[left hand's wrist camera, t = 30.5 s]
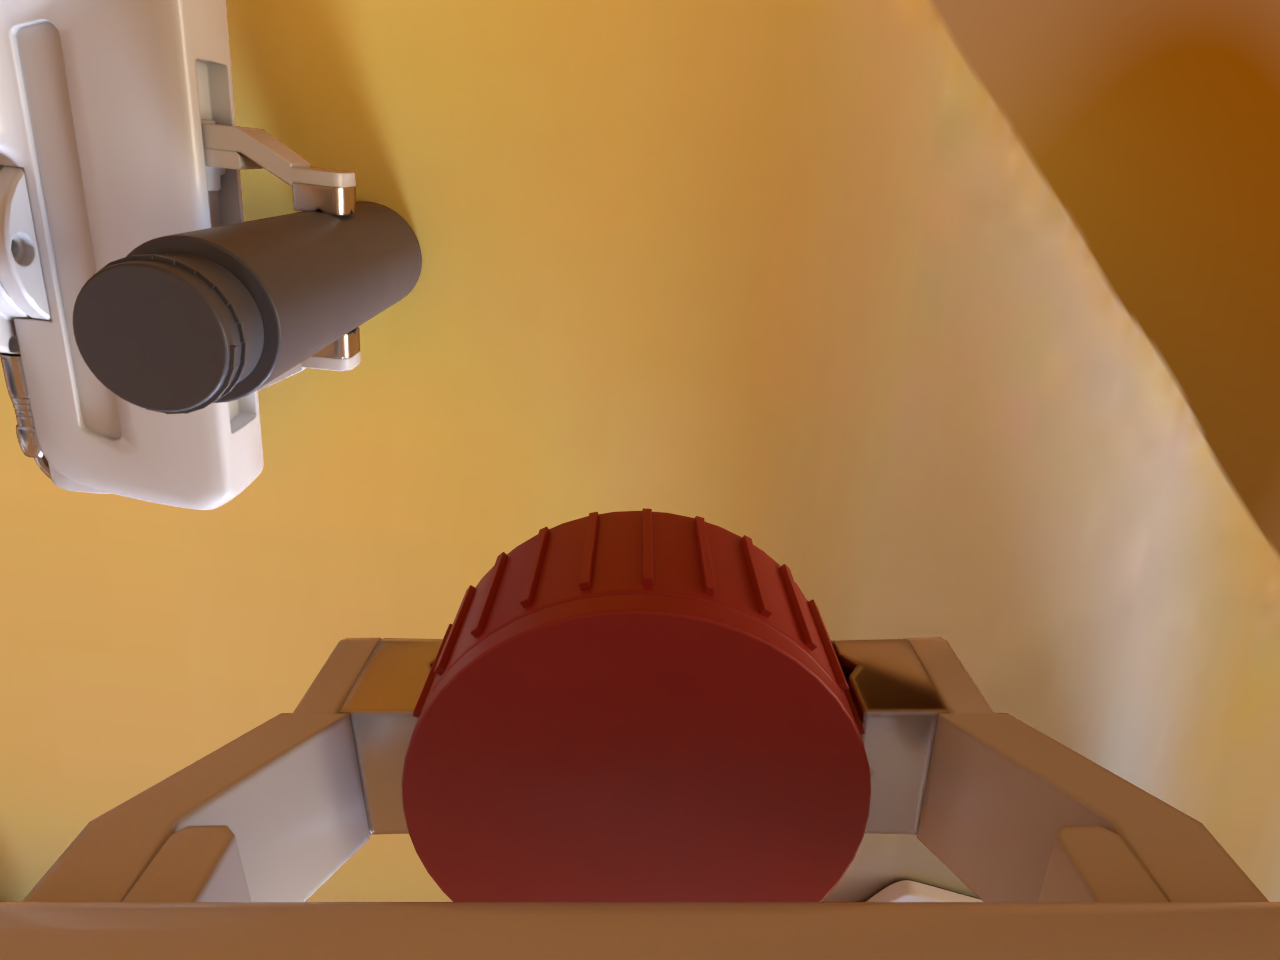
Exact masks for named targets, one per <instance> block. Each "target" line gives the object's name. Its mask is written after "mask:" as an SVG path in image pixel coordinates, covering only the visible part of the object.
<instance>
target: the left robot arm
mask: <svg viewBox="0 0 1280 960" xmlns="http://www.w3.org/2000/svg"><path fill="white" fill-rule="evenodd" d="M442 641H443V639H404V638H384V639H381V638H346V639H344V640H341V641H340V642H339V643H338V644H337V646H336V647H335V649H334V650H333V652H332V653H331V655H330V656H329V658H328V660H327V661H326V663H325V664H324V666H323V667H322V669H321V670H320V672H319V674H318V675H317V677H316V678H315V680H314V681H313V683H312V684H311V686H310V687H309V689H308V691H307V692H306V694H305V695H304V697H303V698H302V700H301V701H300V703H299V705H298V706H297V708H296V709H295V711H294V712H293V713H281V714H279V715H277V716H276V717H274V718H272V719H270V720H269V721H267V722H265V723H263V724H262V725H260V726H258V727H256V728H255V729H253V730H251V731H249V732H248V733H246V734H244V735H242V736H240V737H239V738H237V739H235V740H233V741H232V742H230V743H228V744H226V745H225V746H223V747H221V748H219V749H218V750H216V751H214V752H212V753H211V754H209V755H207V756H205V757H203V758H202V759H200V760H198V761H196V762H195V763H193V764H191V765H189V766H188V767H186V768H184V769H182V770H181V771H179V772H177V773H175V774H173V775H172V776H170V777H168V778H166V779H165V780H163V781H161V782H159V783H158V784H156V785H154V786H152V787H151V788H149V789H147V790H145V791H144V792H142V793H140V794H138V795H136V796H135V797H133V798H131V799H129V800H128V801H126V802H124V803H122V804H121V805H119V806H117V807H115V808H114V809H112V810H110V811H108V812H107V813H105V814H103V815H101V816H99V817H98V818H96V819H94V820H92V821H91V822H89V823H88V824H87V826H86V827H85V828H84V829H83V830H82V832H81V833H80V834H79V835H78V836H77V837H76V839H75V840H74V841H73V842H72V843H71V845H70V846H69V847H68V848H67V849H66V850H65V852H64V853H63V854H62V855H61V856H60V857H59V859H58V860H57V861H56V862H55V863H54V865H53V866H52V867H51V868H50V869H49V870H48V872H47V873H46V874H45V875H44V876H43V877H42V879H41V880H40V881H39V882H38V883H37V885H36V886H35V887H34V888H33V889H32V890H31V892H30V893H29V894H28V895H27V896H26V897H25V899H24V900H23V901H22V902H0V960H1280V902H1269V901H1268V900H1267V899H1266V897H1265V896H1264V895H1263V894H1262V893H1261V892H1260V891H1259V889H1258V888H1257V887H1256V886H1255V885H1254V884H1253V882H1252V881H1251V880H1250V879H1249V878H1248V877H1247V875H1246V874H1245V873H1244V872H1243V871H1242V870H1241V868H1240V867H1239V866H1238V865H1237V864H1236V863H1235V861H1234V860H1233V859H1232V858H1231V857H1230V856H1229V854H1228V853H1227V852H1226V851H1225V850H1224V849H1223V847H1222V846H1221V845H1220V844H1219V843H1218V842H1217V840H1216V839H1215V838H1214V837H1213V836H1212V835H1211V833H1210V832H1209V831H1208V830H1207V829H1206V828H1205V826H1204V825H1203V824H1202V823H1200V822H1199V821H1197V820H1195V819H1193V818H1191V817H1190V816H1188V815H1186V814H1184V813H1183V812H1181V811H1179V810H1177V809H1175V808H1174V807H1172V806H1170V805H1168V804H1167V803H1165V802H1163V801H1161V800H1160V799H1158V798H1156V797H1154V796H1152V795H1151V794H1149V793H1147V792H1145V791H1144V790H1142V789H1140V788H1138V787H1136V786H1135V785H1133V784H1131V783H1129V782H1128V781H1126V780H1124V779H1122V778H1120V777H1119V776H1117V775H1115V774H1113V773H1112V772H1110V771H1108V770H1106V769H1105V768H1103V767H1101V766H1099V765H1097V764H1096V763H1094V762H1092V761H1090V760H1089V759H1087V758H1085V757H1083V756H1081V755H1080V754H1078V753H1076V752H1074V751H1073V750H1071V749H1069V748H1067V747H1066V746H1064V745H1062V744H1060V743H1058V742H1057V741H1055V740H1053V739H1051V738H1050V737H1048V736H1046V735H1044V734H1042V733H1041V732H1039V731H1037V730H1035V729H1034V728H1032V727H1030V726H1028V725H1026V724H1025V723H1023V722H1021V721H1019V720H1018V719H1016V718H1014V717H1012V716H1011V715H1009V714H1007V713H995V712H994V711H993V709H992V708H991V706H990V705H989V703H988V702H987V700H986V699H985V697H984V696H983V694H982V693H981V691H980V690H979V688H978V687H977V685H976V684H975V682H974V681H973V679H972V678H971V677H970V675H969V674H968V672H967V671H966V669H965V668H964V666H963V665H962V663H961V662H960V660H959V659H958V657H957V656H956V654H955V653H954V651H953V650H952V648H951V647H950V645H949V644H948V642H947V641H946V640H944V639H942V638H940V637H936V638H908V639H887V640H839V641H831V643H832V646H833V648H834V651H835V653H836V656H837V658H838V661H839V664H840V666H841V669H842V671H843V674H844V676H845V679H846V681H847V684H848V686H849V692H850V694H851V697H852V699H853V702H854V704H855V707H856V709H857V711H858V714H859V717H860V719H861V722H862V724H863V726H864V731H865V734H861V738H862V740H863V743H864V747H865V751H866V755H867V759H868V763H869V767H870V779H871V799H870V810H869V817H868V820H867V824H866V828H865V832H864V833H882V834H918V835H917V838H918V839H919V840H920V841H921V842H922V843H923V844H924V845H925V846H926V847H927V848H928V849H929V850H930V851H931V852H932V853H933V854H934V855H936V856H937V857H938V858H939V859H940V860H941V861H942V862H943V863H944V864H945V865H946V866H947V867H948V868H949V869H950V870H951V871H952V872H953V873H954V874H955V875H956V876H957V877H958V878H959V879H960V880H962V881H963V882H964V883H965V884H966V885H967V886H968V887H969V888H970V889H971V890H972V891H973V892H974V893H975V894H976V895H977V896H978V897H979V898H980V899H981V900H980V899H976V898H973V897H969V896H966V895H962V894H958V893H955V892H951V891H948V890H944V889H940V888H937V887H933V886H930V885H926V884H922V883H919V882H915V881H910V880H904V881H899V882H896V883H893V884H891V885H889V886H888V887H886V888H884V889H883V890H881V891H880V892H878V893H877V894H876V895H874V896H873V897H871V898H870V899H869V900H867V901H866V902H305V901H306V900H307V899H308V898H309V897H310V896H311V895H312V894H313V893H314V892H315V891H316V890H317V889H318V888H319V887H320V886H321V885H323V884H324V883H325V882H326V881H327V880H328V879H329V878H330V877H331V876H332V875H333V874H334V873H335V872H336V871H337V870H338V869H339V868H340V867H341V866H342V865H343V864H344V863H345V862H346V861H347V860H348V859H349V858H350V857H351V856H352V855H353V854H355V853H356V852H357V851H358V850H359V849H360V848H361V847H362V846H363V845H364V844H365V843H366V842H367V841H368V840H369V839H370V834H404V833H409V832H408V829H407V824H406V819H405V815H404V810H403V804H402V775H403V767H404V759H405V755H406V752H407V749H408V746H409V743H410V739H411V736H412V733H413V731H414V728H415V726H416V723H417V721H418V718H417V717H414V716H413V712H414V709H415V706H416V704H417V701H418V699H419V697H420V694H421V692H422V689H423V687H424V685H425V682H426V680H427V677H428V675H429V672H430V670H431V668H432V665H433V663H434V660H435V658H436V656H437V653H438V651H439V648H440V646H441V643H442Z"/></svg>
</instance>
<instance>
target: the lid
mask: <svg viewBox="0 0 1280 960" xmlns="http://www.w3.org/2000/svg"><path fill="white" fill-rule="evenodd" d="M413 716H414V717H417V718H418V721H417V723H416V726H415V728H414V731H413V733H412V736H411V739H410V743H409V746H408V749H407V752H406V755H405V759H404V767H403V775H402V804H403V810H404V815H405V819H406V824H407V829H408V832H409V835H410V837H411V840H412V842H413V845H414V847H415V850H416V852H417V854H418V856H419V858H420V859H421V861H422V863H423V865H424V866H425V868H426V870H427V872H428V873H429V874H430V876H431V877H432V878H433V880H434V881H435V882H436V883H437V885H438V886H439V887H440V888H441V890H442V891H443V892H444V893H445V894H446V895H447V896H448V897H449V898H450V899H451V900H452V901H453V902H821V901H822V900H823V899H824V898H825V897H826V896H827V895H828V894H829V893H830V891H831V890H832V889H833V888H834V887H835V886H836V884H837V883H838V882H839V881H840V880H841V878H842V877H843V875H844V873H845V872H846V870H847V869H848V867H849V866H850V864H851V862H852V861H853V859H854V857H855V855H856V852H857V850H858V848H859V846H860V843H861V841H862V839H863V836H864V832H865V828H866V824H867V820H868V817H869V810H870V799H871V779H870V767H869V763H868V759H867V755H866V751H865V747H864V743H863V740H862V738H861V734H865V731H864V726H863V724H862V722H861V719H860V717H859V714H858V711H857V709H856V707H855V704H854V702H853V699H852V697H851V694H850V692H849V686H848V684H847V681H846V679H845V676H844V674H843V671H842V669H841V666H840V664H839V661H838V658H837V656H836V653H835V651H834V648H833V646H832V643H831V641H830V638H829V636H828V633H827V630H826V628H825V625H824V623H823V620H822V618H821V615H820V613H819V610H818V607H817V605H816V603H815V601H814V600H811V601H809V602H808V601H807V599H806V598H805V596H804V595H803V593H802V591H801V590H800V588H799V587H798V585H797V584H796V583H795V582H794V580H793V577H792V574H791V571H790V569H789V568H788V567H787V566H786V565H785V564H783V565H782V566H780V565H779V564H778V563H776V562H775V561H774V560H773V559H772V558H771V557H769V556H768V555H767V554H766V553H765V552H764V551H762V550H761V549H759V548H758V547H756V546H754V545H753V543H752V540H751V538H749V537H747V536H745V535H744V536H743V538H742V537H740V536H738V535H736V534H734V533H731V532H729V531H727V530H725V529H723V528H721V527H719V526H716V525H713V524H710V523H707V522H705V521H704V518H701V517H698V516H696V517H695V518H690V517H685V516H680V515H675V514H670V513H662V512H652V510H651V509H643V511H626V512H611V513H605V514H599V515H598V512H594V513H589V516H587V517H584V518H580V519H577V520H573V521H570V522H567V523H563V524H561V525H558V526H556V527H554V528H551V529H548V527H545V528H543V529H541V530H540V531H539V534H538V535H536V536H534V537H533V538H531V539H529V540H528V541H526V542H524V543H523V544H521V545H519V546H517V547H516V548H515V549H514V550H512V551H511V552H510V553H509V554H507V555H506V554H505V553H504V552H503V553H501V554H500V555H499V556H498V557H497V560H496V563H495V565H494V567H493V568H492V569H491V570H490V571H489V572H488V573H487V574H486V575H485V576H484V577H483V578H482V579H481V581H480V582H479V583H478V585H477V586H476V588H475V587H473V586H471V585H470V586H469V588H468V589H467V591H466V593H465V596H464V598H463V601H462V603H461V606H460V608H459V610H458V613H457V615H456V618H455V620H454V623H453V625H452V624H449V627H448V629H447V631H446V634H445V636H444V639H443V641H442V643H441V646H440V648H439V651H438V653H437V656H436V658H435V660H434V663H433V665H432V668H431V670H430V672H429V675H428V677H427V680H426V682H425V685H424V687H423V689H422V692H421V694H420V697H419V699H418V701H417V704H416V706H415V709H414V712H413Z"/></svg>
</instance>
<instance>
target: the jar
mask: <svg viewBox="0 0 1280 960" xmlns="http://www.w3.org/2000/svg"><path fill="white" fill-rule="evenodd" d="M421 264H422V257H421V250H420V246H419V243H418V240H417V238H416V235H415V233H414V232H413V230H412V229H411V227H410V226H409V225H408V223H407V222H406V221H405V220H404V219H403V218H402V217H401V216H400V215H398V214H397V213H396V212H394V211H393V210H391V209H390V208H387V207H385V206H383V205H380V204H377V203H371V202H356V213H354V214H353V213H350V214H349V215H334V214H327V213H324V212H323V211H322V210H320V211H314V212H313V211H305V212H299V213H293V214H288V215H282V216H276V217H270V218H265V219H259V220H253V221H248V222H242V223H236V224H230V225H225V226H219V227H213V228H208V229H202V230H196V231H190V232H185V233H179V234H173V235H168V236H162V237H158V238H154V239H152V240H149V241H147V242H144V243H143V244H141V245H139V246H138V247H136V248H135V249H133V250H132V251H131V252H130V253H129V254H128V255H127V256H126V257H124V258H121V259H118V260H115V261H112V262H109V263H108V264H107V265H106V266H104V267H103V268H102V269H101V270H99V271H98V272H97V273H95V274H94V275H93V276H92V277H91V278H90V279H88V281H87V282H86V283H85V284H84V286H83V287H82V288H81V290H80V292H79V294H78V296H77V298H76V301H75V304H74V310H73V332H74V337H75V341H76V344H77V347H78V349H79V352H80V354H81V356H82V358H83V360H84V362H85V363H86V365H87V366H88V368H89V369H90V371H91V372H92V373H93V374H94V375H95V377H96V378H97V379H98V380H99V381H100V382H101V383H102V384H103V385H104V386H105V387H106V388H108V389H109V390H110V391H111V392H113V393H114V394H116V395H117V396H119V397H120V398H122V399H123V400H125V401H127V402H129V403H131V404H134V405H136V406H139V407H141V408H145V409H146V410H151V411H156V412H161V413H166V414H184V413H185V414H187V413H190V412H194V411H197V410H200V409H204V408H205V407H207V406H208V405H210V404H211V403H223V402H230V401H234V400H238V399H241V398H243V397H246V396H248V395H249V394H251V393H253V392H255V391H256V390H258V389H260V388H261V387H263V386H264V385H266V384H268V383H269V382H271V381H272V380H274V379H275V378H277V377H279V376H280V375H282V374H283V373H285V372H287V371H288V370H290V369H291V368H293V367H295V366H296V365H298V364H299V363H301V362H303V361H304V360H306V359H307V358H309V357H310V356H312V355H314V354H315V353H317V352H318V351H320V350H322V349H323V348H325V347H326V346H328V345H330V344H331V343H333V342H334V341H336V340H338V339H339V338H341V337H342V336H344V335H345V334H347V333H349V332H350V331H352V330H353V329H355V328H357V327H358V326H360V325H361V324H363V323H365V322H366V321H368V320H369V319H371V318H373V317H374V316H376V315H377V314H379V313H380V312H382V311H384V310H385V309H387V308H388V307H390V306H392V305H393V304H395V303H396V302H398V301H400V300H401V299H403V298H404V297H405V296H407V295H408V294H409V293H410V292H411V290H412V289H413V288H414V286H415V285H416V283H417V281H418V278H419V275H420V272H421Z"/></svg>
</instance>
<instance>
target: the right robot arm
mask: <svg viewBox="0 0 1280 960" xmlns="http://www.w3.org/2000/svg"><path fill="white" fill-rule="evenodd" d="M262 168H265V169H266V170H268V171H269V172H271V173H272V174H274V175H275V176H277V177H278V178H280V179H281V180H283V181H284V182H286V183H287V184H289V185H290V186H293V198H294V210H299V211H313V212H314V211H320V210H322V211H323V212H324V213H327V214H334V215H349V214H350V213H353V214H354V213H356V203H355V186H356V182H355V172H351V171H344V170H336V169H327V168H319V167H310V163H309V162H308V161H306V160H305V159H304V158H302V157H301V156H299V155H298V154H297V153H295V152H294V151H292V150H291V149H290V148H288V147H287V146H286V145H284V144H283V143H281V142H280V141H279V140H277V139H276V138H275V137H273V136H272V135H270V134H269V133H268V132H266V131H265V130H263V129H255V128H247V127H239V126H236V119H235V107H234V94H233V82H232V69H231V57H230V45H229V32H228V20H227V6H226V0H0V357H1V362H2V367H3V372H4V376H5V381H6V386H7V389H8V393H9V396H10V398H11V401H12V402H13V407H14V408H15V414H16V419H17V425H16V433H17V438H18V442H19V444H20V447H21V449H22V451H23V453H24V455H25V456H28V457H34V459H35V461H36V463H37V465H38V466H39V467H40V469H41V470H42V471H43V472H44V473H45V474H46V475H47V476H48V477H49V478H50V479H51V480H52V482H53V483H54V484H55V485H56V486H58V487H60V488H63V489H66V490H70V491H78V492H88V493H99V494H108V493H113V494H117V495H121V496H125V497H129V498H134V499H138V500H143V501H148V502H153V503H158V504H164V505H170V506H176V507H182V508H189V509H198V510H210V509H215V508H217V507H220V506H222V505H224V504H225V503H227V502H229V501H230V500H232V499H233V498H234V497H236V496H237V495H238V494H240V493H241V492H242V491H243V490H244V489H245V488H247V487H248V486H249V485H250V484H251V483H252V482H253V481H254V480H255V479H256V478H257V477H258V476H259V474H260V473H261V472H262V469H263V450H262V437H261V425H260V413H259V401H258V391H259V390H261V389H264V388H266V387H268V386H270V385H272V384H274V383H277V382H279V381H281V380H283V379H285V378H287V377H290V376H292V375H294V374H296V373H298V372H300V371H303V370H304V369H306V368H314V369H324V370H335V371H347V370H352V369H353V368H355V367H356V366H357V365H358V364H360V334H359V327H357V328H355V329H353V330H352V331H350V332H349V333H347V334H345V335H344V336H342V337H341V338H339V339H338V340H336V341H334V342H333V343H331V344H330V345H328V346H326V347H325V348H323V349H322V350H320V351H318V352H317V353H315V354H314V355H312V356H310V357H309V358H307V359H306V360H304V361H303V362H301V363H299V364H298V365H296V366H295V367H293V368H291V369H290V370H288V371H287V372H285V373H283V374H282V375H280V376H279V377H277V378H275V379H274V380H272V381H271V382H269V383H268V384H266V385H264V386H263V387H261V388H260V389H258V390H256V391H255V392H253V393H251V394H249V395H248V396H246V397H243V398H241V399H238V400H234V401H230V402H223V403H211V404H210V405H208V406H207V407H205V408H204V409H200V410H197V411H194V412H190V413H187V414H185V413H184V414H166V413H161V412H156V411H151V410H146V409H145V408H141V407H139V406H136V405H134V404H131V403H129V402H127V401H125V400H123V399H122V398H120V397H119V396H117V395H116V394H114V393H113V392H111V391H110V390H109V389H108V388H106V387H105V386H104V385H103V384H102V383H101V382H100V381H99V380H98V379H97V378H96V377H95V375H94V374H93V373H92V372H91V371H90V369H89V368H88V366H87V365H86V363H85V362H84V360H83V358H82V356H81V354H80V352H79V349H78V347H77V344H76V341H75V337H74V332H73V310H74V304H75V301H76V298H77V296H78V294H79V292H80V290H81V288H82V287H83V286H84V284H85V283H86V282H87V281H88V279H90V278H91V277H92V276H93V275H94V274H95V273H97V272H98V271H99V270H101V269H102V268H103V267H104V266H106V265H107V264H108V263H109V262H112V261H115V260H118V259H121V258H124V257H126V256H127V255H128V254H129V253H130V252H131V251H132V250H133V249H135V248H136V247H138V246H139V245H141V244H143V243H144V242H147V241H149V240H152V239H154V238H158V237H162V236H168V235H173V234H179V233H185V232H190V231H196V230H202V229H208V228H213V227H219V226H225V225H230V224H236V223H242V222H244V217H243V205H242V193H241V181H240V169H262Z"/></svg>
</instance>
